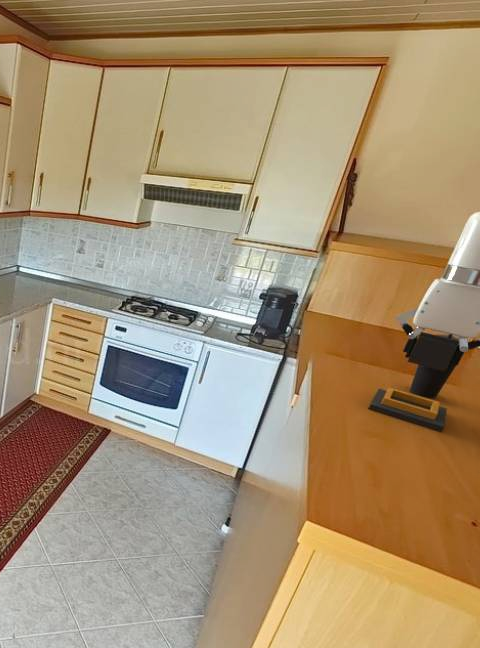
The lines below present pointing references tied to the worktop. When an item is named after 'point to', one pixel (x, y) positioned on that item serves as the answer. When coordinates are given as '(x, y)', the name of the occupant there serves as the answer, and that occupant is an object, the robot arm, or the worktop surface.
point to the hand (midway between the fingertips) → (427, 360)
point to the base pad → (410, 408)
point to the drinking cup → (430, 378)
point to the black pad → (433, 351)
